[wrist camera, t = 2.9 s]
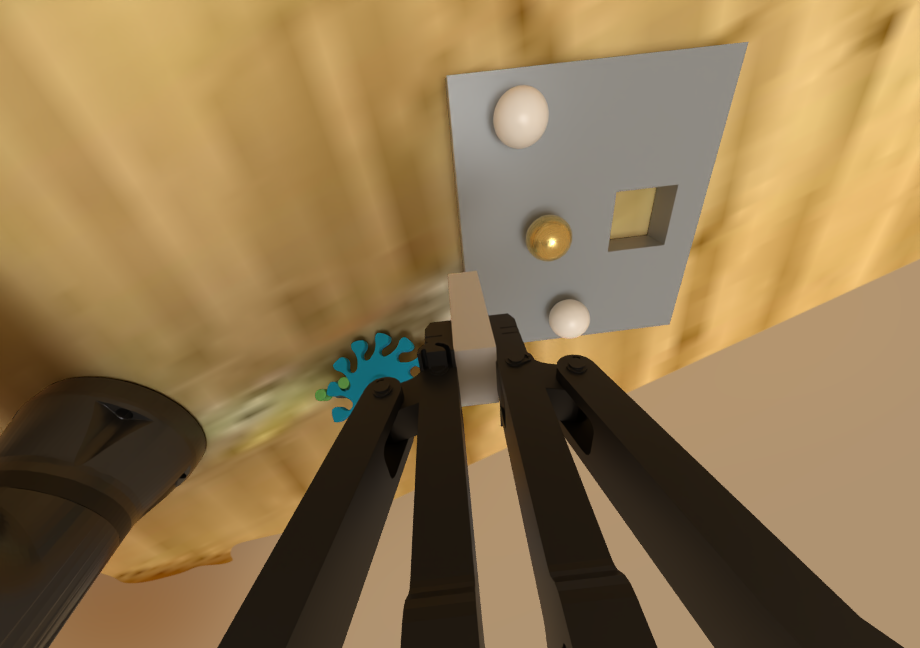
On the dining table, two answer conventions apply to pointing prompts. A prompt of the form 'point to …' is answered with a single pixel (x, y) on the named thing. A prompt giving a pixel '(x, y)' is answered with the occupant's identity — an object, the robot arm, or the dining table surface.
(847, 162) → the dining table surface
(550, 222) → the ball
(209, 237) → the dining table surface
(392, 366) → the gear
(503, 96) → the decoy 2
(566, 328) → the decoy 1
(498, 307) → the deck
